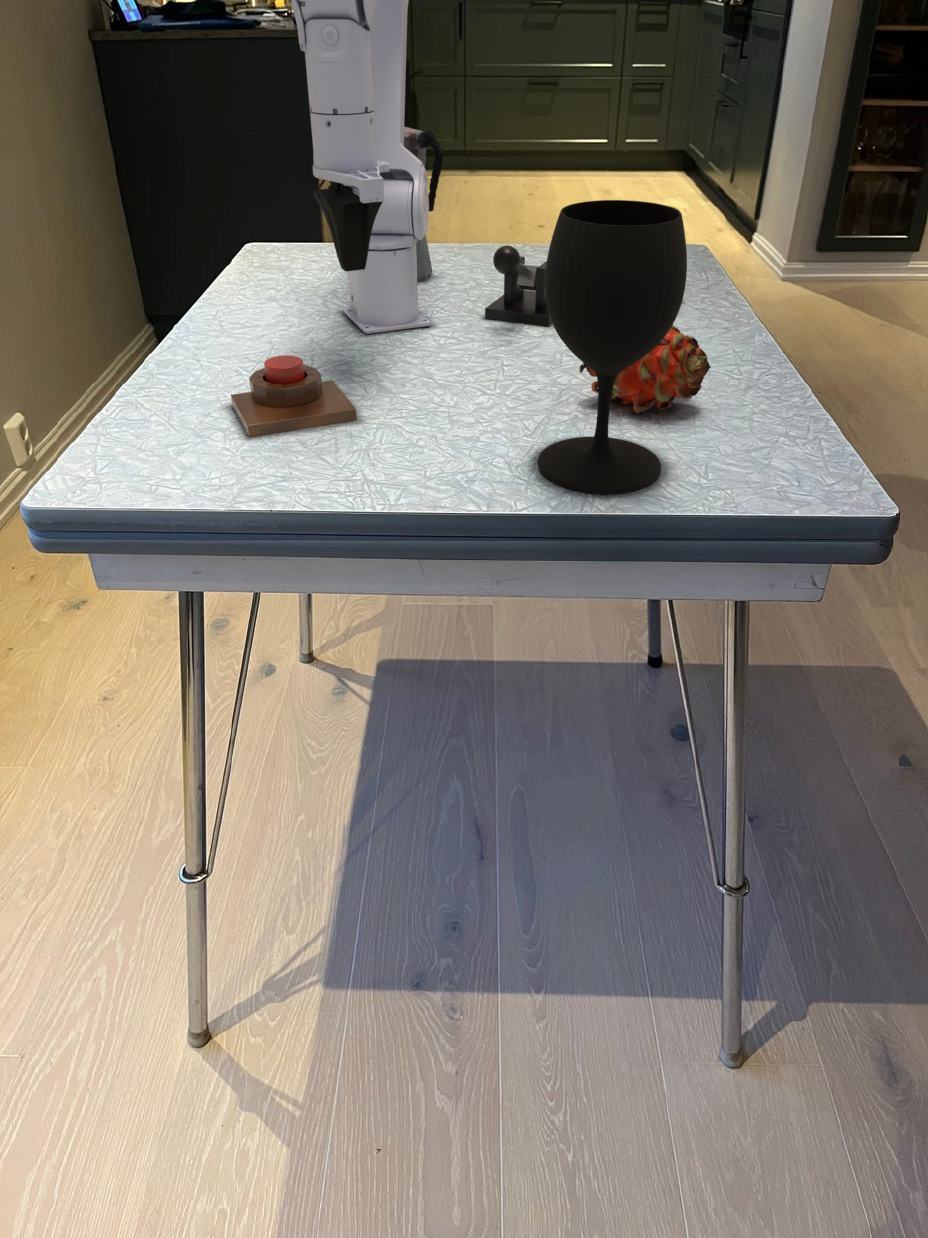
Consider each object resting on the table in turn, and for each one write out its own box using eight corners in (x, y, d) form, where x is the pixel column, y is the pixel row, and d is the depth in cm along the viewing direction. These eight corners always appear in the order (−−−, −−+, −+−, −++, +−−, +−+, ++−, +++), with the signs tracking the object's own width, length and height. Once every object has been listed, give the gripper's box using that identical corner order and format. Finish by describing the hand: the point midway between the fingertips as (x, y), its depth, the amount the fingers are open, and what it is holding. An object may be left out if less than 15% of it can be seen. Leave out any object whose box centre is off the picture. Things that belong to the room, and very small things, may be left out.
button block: (249, 438, 84) (244, 406, 82) (229, 401, 91) (225, 371, 89) (357, 421, 87) (354, 390, 85) (330, 387, 94) (327, 357, 92)
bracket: (548, 326, 110) (550, 275, 106) (484, 318, 112) (485, 268, 109) (571, 305, 116) (574, 256, 113) (511, 297, 119) (512, 249, 116)
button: (270, 388, 87) (268, 370, 86) (262, 375, 89) (260, 357, 88) (309, 383, 88) (307, 365, 87) (299, 370, 91) (297, 352, 90)
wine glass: (516, 452, 81) (523, 204, 70) (620, 432, 85) (643, 192, 73) (574, 504, 73) (593, 234, 62) (686, 480, 77) (724, 220, 65)
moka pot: (381, 260, 134) (373, 101, 123) (469, 277, 127) (469, 109, 116) (336, 274, 128) (323, 108, 117) (425, 293, 121) (421, 118, 109)
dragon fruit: (711, 429, 89) (584, 436, 92) (710, 353, 92) (587, 362, 95) (711, 378, 81) (573, 388, 84) (710, 296, 84) (576, 308, 87)
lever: (513, 272, 102) (517, 243, 102) (487, 269, 103) (492, 240, 102) (543, 294, 113) (547, 268, 113) (519, 291, 114) (524, 266, 114)
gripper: (414, 117, 80) (419, 282, 87) (358, 99, 91) (367, 247, 98) (334, 123, 77) (346, 291, 85) (287, 103, 88) (301, 254, 96)
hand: (353, 268), depth 92 cm, fingers closed
